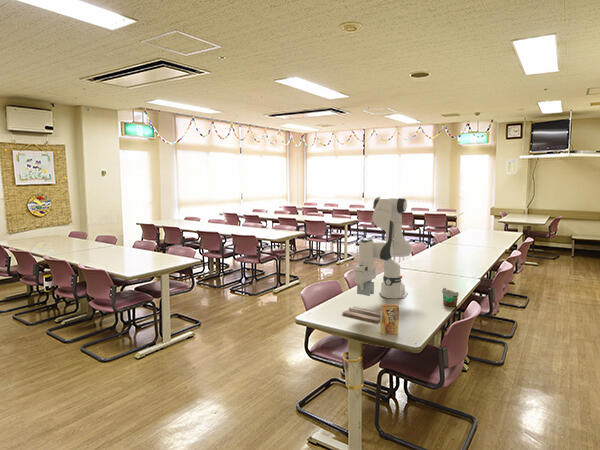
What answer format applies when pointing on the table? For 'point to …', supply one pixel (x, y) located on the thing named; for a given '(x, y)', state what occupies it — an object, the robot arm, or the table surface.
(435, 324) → the table surface
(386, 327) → the candy box
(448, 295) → the food container
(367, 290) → the block
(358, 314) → the rail board
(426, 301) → the table surface
